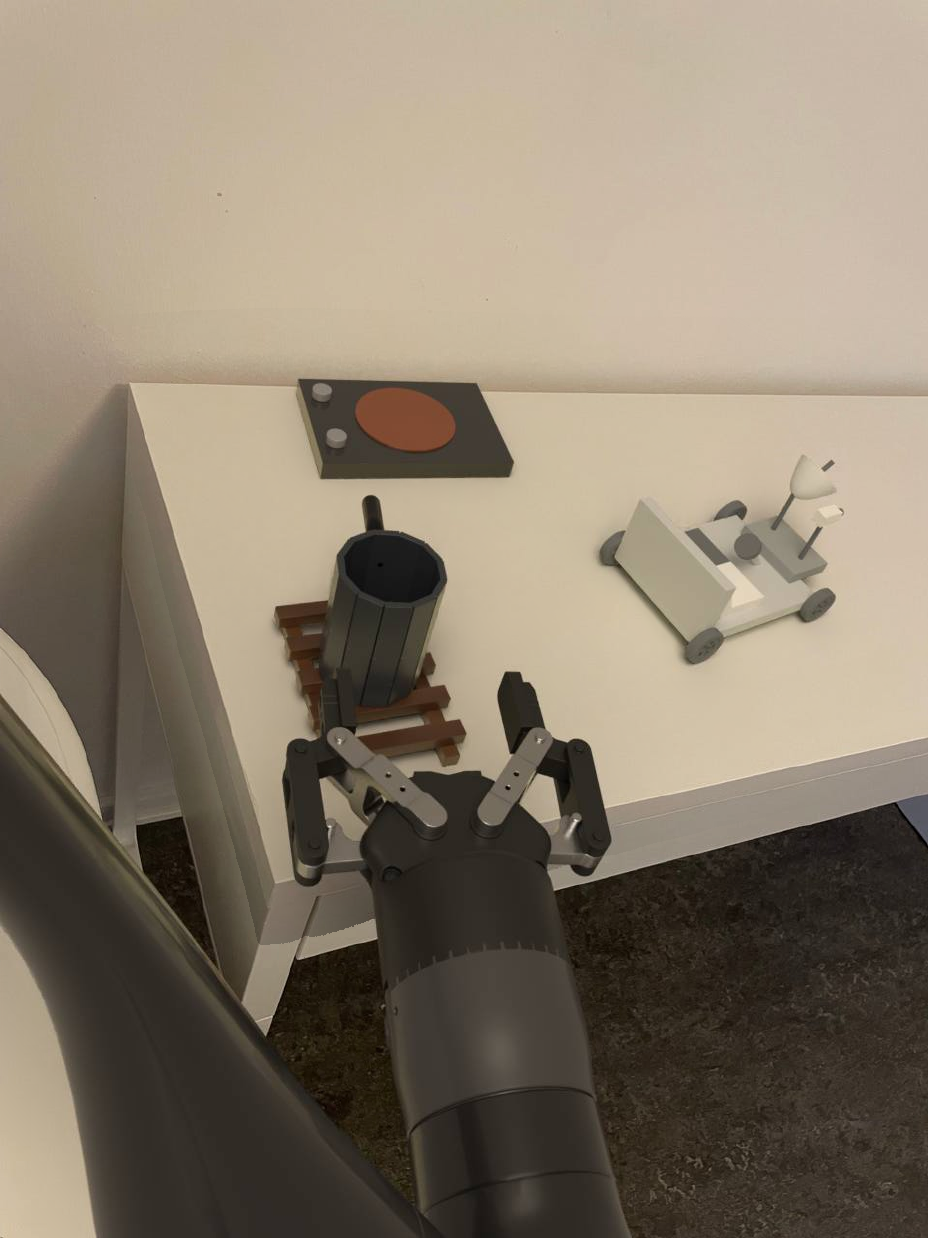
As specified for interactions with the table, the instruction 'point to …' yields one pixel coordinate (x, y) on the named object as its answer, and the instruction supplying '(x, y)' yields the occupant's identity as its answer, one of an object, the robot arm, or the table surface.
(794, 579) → the toy car
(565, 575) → the table surface
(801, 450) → the table surface
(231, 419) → the table surface
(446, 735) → the rack
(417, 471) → the stove
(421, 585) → the pot
